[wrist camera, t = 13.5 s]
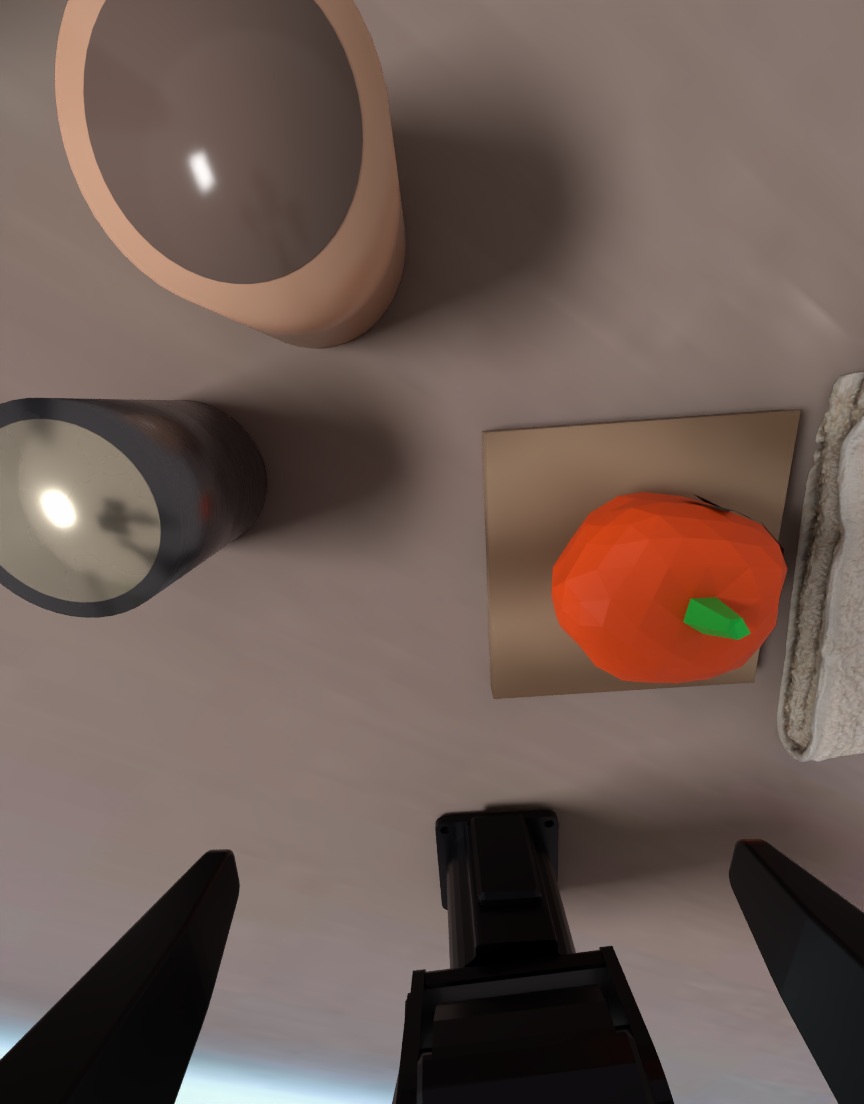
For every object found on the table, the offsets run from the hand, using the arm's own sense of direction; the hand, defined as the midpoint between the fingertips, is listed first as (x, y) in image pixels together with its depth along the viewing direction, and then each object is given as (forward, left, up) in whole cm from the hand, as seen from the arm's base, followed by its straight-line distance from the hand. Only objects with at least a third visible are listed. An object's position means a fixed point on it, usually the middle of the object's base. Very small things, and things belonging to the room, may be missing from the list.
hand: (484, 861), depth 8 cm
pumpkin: (+1, -8, -12) cm, 14 cm away
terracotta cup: (+14, +4, -13) cm, 19 cm away
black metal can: (+6, +10, -13) cm, 17 cm away
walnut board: (+1, -8, -13) cm, 15 cm away
